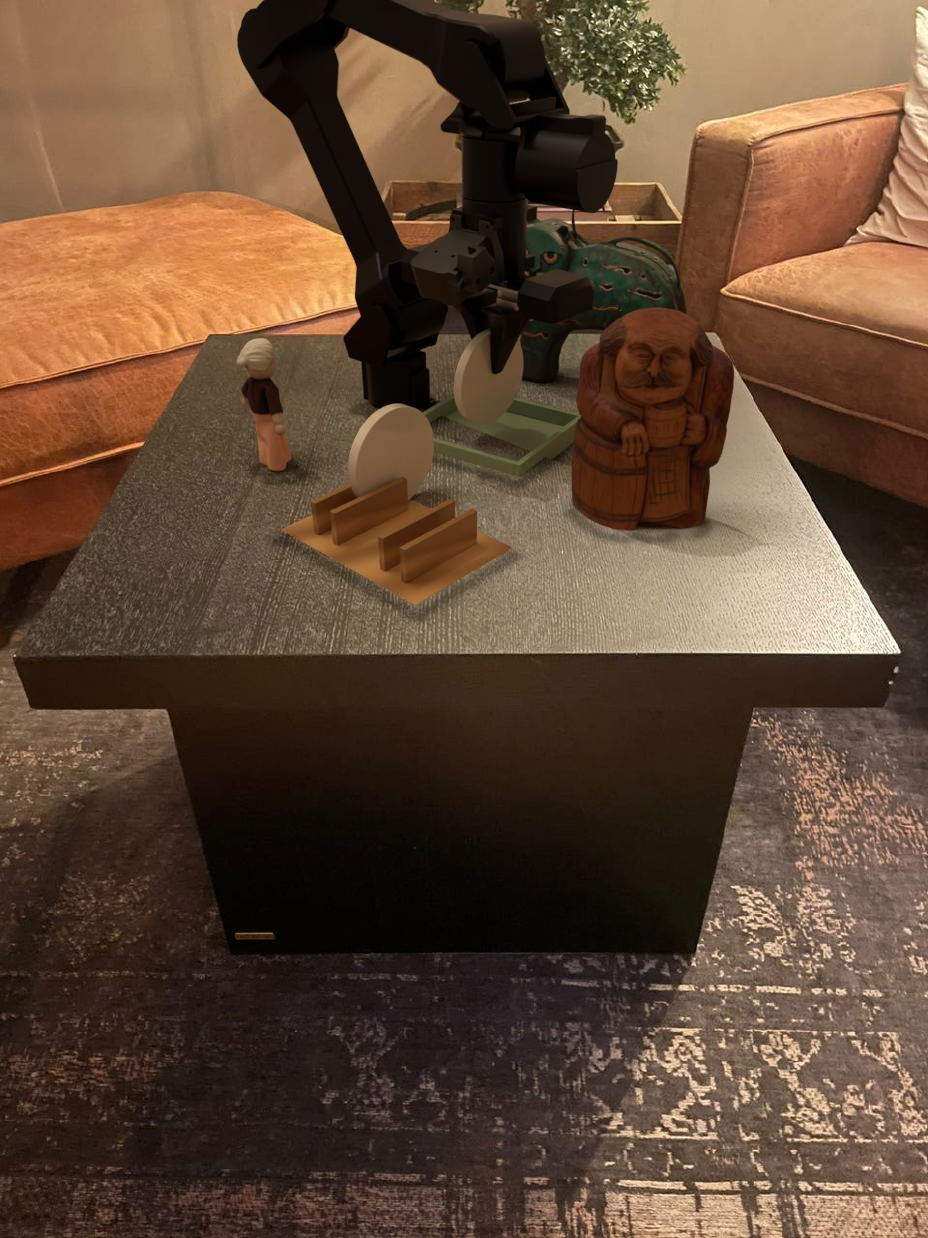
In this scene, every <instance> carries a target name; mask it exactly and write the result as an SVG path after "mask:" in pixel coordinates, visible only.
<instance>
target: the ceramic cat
mask: <svg viewBox="0 0 928 1238" xmlns="http://www.w3.org/2000/svg"><path fill="white" fill-rule="evenodd" d="M575 211H576V210H571V224H569V223H568V222H567V221H564V220H562V219H560V218H557V217H549V218H544V219H542V220H540V219H539V218H537V219H535V220H531V221H528V222H527V241H526V254H529V255H533V256H535V267H534V268H531V269H528V270H525V275H527V276H531V277H535V276H538V275H541V274H544V273H547V272H550V271H552V270H555V269H559V270H563V271H567V272H571V273H575V274H579V275H583V276H587V277H588V278H589V280H590V281H591V283H592V284H593V287H594V299H593V309H592V310H589V311H587V312H584V313H582V314H579V315H577V316H574V317H572V318H569V319H566V320H564V321H561V322H559V323H548V324H547V323H544V322H540V321H537V320H533V319H529V321H528V322H527V324H526V326H525V327H524V329H523V331H522V333H521V334H520V336H519V343H520V345H521V348H522V352H523V362H524V363H523V375H522V380H526V381H527V380H528V381H532V382H536V383H539V384H540V383H546V382H548V381H550V380H551V379H553V377H555V376H556V375H558V374H559V370H560V356H561V353H562V352H561V351H562V348H563V345H564V343H566V340H567V339H568V337H569V335H570V334H571V332H575V331H583V330H596V331H602V332H603V331H604V330H605V329H606V328H608V327H609V326H610V325H611V324H612V323H613V322H614V321H616V320H617V319H619V318H621V317H623V316H624V315H626V314H628V313H630V312H633V311H635V310H639V309H644V308H667V309H673V310H677V311H680V312H682V313H684V314H686V315H688V312H687V306H686V299H685V293H684V290H683V287H682V283H681V282H682V281H681V275H680V270H679V268H678V265H677V263H676V261H675V259H674V258H673V256H672V255H671V254H670V252H669V251H668V250H667V249H666V248H665V247H662V246H661V245H659V244H658V243H656V242H653V241H651V240H648V239H645V238H641V237H638V236H630V235H629V236H621V237H616V238H613V239H607V240H602V241H597V242H593V241H591V240H588V239H586V238H585V237H583V236H582V235H581V234H580V233H578V231H577V230H576V229H577V228H576V221H575V213H576V212H575ZM601 211H602V212H603V213H605V211H606V207H605V205H604V206H603V207H602V208H601ZM628 241H629V242H635V243H639V244H642V245H644V246H647V247H648V248H652V249H654V250H656V251H658V252H659V253H660V254H661V255H662V256H664V258H665V259H666V260H667V261H668V263H669V264H670V265H671V266H672V268H673V269H672V268H671V267H670V266H669V265H668V264H667V263H666V262H665V261H664V260H663V259H662V258H661V257H659V255H657V254H655V253H654V252H651V251H649V250H647V249H644V248H642V247H639V246H637V245H633V244H628V243H623V242H628ZM673 270H674V271H673ZM674 272H675V273H674Z"/></svg>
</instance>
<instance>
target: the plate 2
mask: <svg viewBox="0 0 928 1238" xmlns="http://www.w3.org/2000/svg"><path fill="white" fill-rule="evenodd" d="M470 340H471V339H470ZM523 363H524V362H523V352H522V348H521V344H520V340H519V339H518V340H517V342H516V344H515V346H514V348H513V351H512V353H511V355H510V357H509V359H508V361H507V363H506V365H505V367H504V369H503V371H502V372H501V373H498V374H493V373H492V368H491V342H490V329H487V330H484V331H482V332H481V333H479V334H478V335H476V336H475V337H474V338H473V339H472V340H471V341H469V343H468V344H467V345H466V347H465V348H464V350H463V352H462V354H461V355H460V358H459V360H458V363H457V365H456V368H455V374H454V379H453V394H454V399H455V403H456V406H457V408H458V410H459V412H460V413H461V415H462V416H463V417H464V418H466V419H467V420H469V421H472V422H474V423H477V424H488V423H491V422H493V421H495V420H497V419H498V418H500V417H501V416H502V415H503V414H504V413H505V412H506V411H507V409H508V408H509V407H510V405H511V404H512V402H513V400H514V399H515V398H517V397H516V396H517V394H518V392H519V389H520V387H521V384H522V380H523V379H522V375H523Z"/></svg>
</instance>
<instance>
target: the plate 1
mask: <svg viewBox="0 0 928 1238" xmlns="http://www.w3.org/2000/svg"><path fill="white" fill-rule="evenodd" d="M434 438H435V437H434V432H433V427H432V426H431V423H429V421H428V419H427V418H426V416H425V415H424V414H423V412H422V411H421V410H417V409H416V408H413V407H411V406H408V405H405V404H399V403H398V404H391V405H387V406H385V407H382V408H381V409H378V410H376V411H374V412H373V413H372V414H371V415H369V417H368V418H367V419H366V420H365V421H364V422H363V424H362V425H361V427H360V428H359V429H358V431H357V433H356V435H355V437H354V439H353V441H352V444H351V447H350V451H349V456H348V460H347V462H348V463H347V478H348V481H349V482H348V484H349V483H350V486H351V489H352V491H353V493H354V494H355V496H356V497H357V498H359V497H361V496H363V495H365V494H367V493H369V492H371V491H373V490H376V489H378V488H380V487H382V486H384V485H386V484H388V483H390V482H392V481H395V480H397V479H399V478H401V477H404V478H406V479H407V487H408V500H409V499H412V498H413V497H414V496H415V495H416V494H417V492H418V491H419V490H420V488H421V487H422V485H423V484H424V482H425V480H426V478H427V476H428V474H429V471H430V469H431V466H432V462H433V458H434V453H435V452H434Z"/></svg>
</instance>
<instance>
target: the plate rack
mask: <svg viewBox="0 0 928 1238" xmlns="http://www.w3.org/2000/svg"><path fill="white" fill-rule="evenodd" d="M310 505H311V508H310V509H311V515H308V516H306V517H304V518H302V519H300V520H298V521H296V522H294V523H292V524H290V525H288V526H285V527H284V528H281V529H280V530H281V531H282V532H284V533H286V534H287V535H289V536H291V537H292V538H294V539H296V540H298V541H300V542H302V543H303V544H305V545H307V546H309V547H311V548H312V549H315V550H316V551H318V552H319V553H322V554H323V555H325V556H326V557H328V558H330V559H332V560H333V561H336V562H337V563H339V564H341V565H343V566H345V567H347V568H348V569H350V570H352V571H353V572H355V573H357V574H359V575H361V576H362V577H364V578H366V579H367V580H369V581H371V582H373V583H375V584H377V585H379V586H380V587H382V588H384V590H385V589H386V590H387V591H389V592H391V593H392V594H394V595H396V596H397V597H399V598H401V599H403V600H405V601H406V602H409V603H410V604H412V605H413V606H417V605H419V604H421V603H422V602H424V601H426V600H427V599H429V598H430V597H432V596H434V595H436V594H438V593H439V592H440V591H443V590H445V588H447V587H449V586H451V585H452V584H455V583H456V582H457V581H459V580H461V579H463V578H464V577H466V576H468V575H469V574H471V573H472V572H474V571H476V570H478V569H480V568H481V567H482V566H484V565H486V564H487V563H489V562H491V561H493V560H495V559H497V557H500V556H501V555H503V554H504V553H506V552H508V551H510V550H511V549H512V548H513V546H511V545H508V544H506V543H504V542H503V541H500V540H498V539H496V538H494V537H492V536H490V535H488V534H486V533H483V532H481V531H479V530H478V511H477V510H476V509H474V508H471V509H469V510H466V511H465V512H463V513H461V514H459V515H457V516H456V500H454V499H453V498H448V499H446V500H445V501H443V502H441V503H439V504H437V505H435V506H434V507H432V508H430V507H429V506H426V505H424V504H422V503H420V502H417V501H416V500H414V499H412V498H410V499H409V500H408V487H407V479H406V478H404V477H401V478H399V479H397V480H395V481H392V482H390V483H388V484H386V485H384V486H382V487H380V488H378V489H376V490H373V491H371V492H369V493H367V494H365V495H363V496H361V497H359V498H357V497H356V496H355V494H354V493H353V491H352V489H351V486H350V483H349V482H348V483H347V484H344V485H343V486H340V487H338V488H336V489H334V490H332V491H329V492H327V493H325V494H323V495H321V496H318V497H317V498H315V499H313V500H311V501H310Z"/></svg>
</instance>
